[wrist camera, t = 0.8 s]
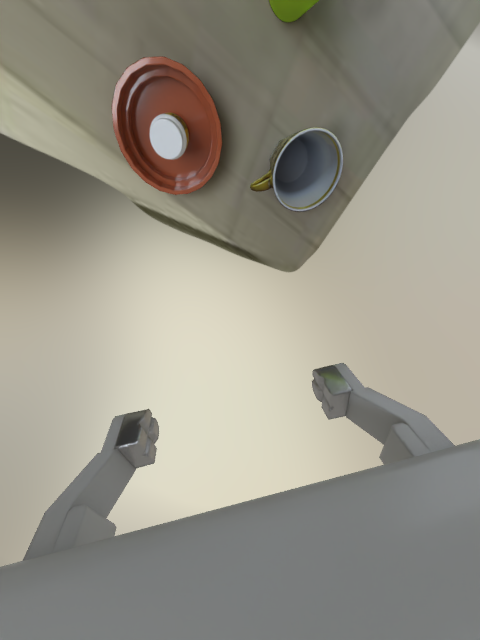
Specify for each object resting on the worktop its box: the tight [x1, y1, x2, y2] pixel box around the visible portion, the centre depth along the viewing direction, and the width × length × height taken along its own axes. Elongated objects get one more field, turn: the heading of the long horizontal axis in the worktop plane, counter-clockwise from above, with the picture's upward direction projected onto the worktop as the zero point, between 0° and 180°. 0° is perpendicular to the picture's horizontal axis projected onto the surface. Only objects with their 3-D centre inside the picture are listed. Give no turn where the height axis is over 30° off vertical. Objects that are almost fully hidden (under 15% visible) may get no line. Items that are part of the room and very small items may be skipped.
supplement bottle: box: [150, 113, 189, 160], centre depth 30 cm, size 5×5×8 cm
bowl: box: [112, 57, 222, 195], centre depth 32 cm, size 14×14×5 cm
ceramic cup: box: [250, 128, 343, 212], centre depth 35 cm, size 13×10×10 cm
